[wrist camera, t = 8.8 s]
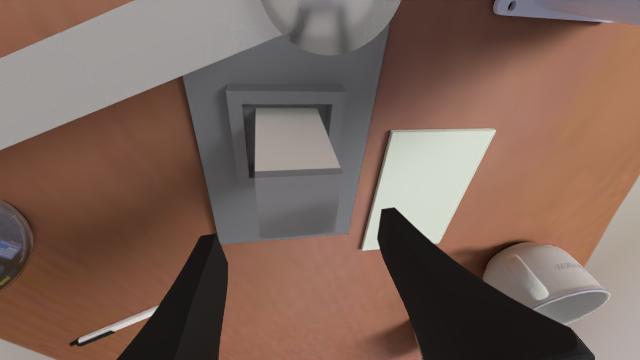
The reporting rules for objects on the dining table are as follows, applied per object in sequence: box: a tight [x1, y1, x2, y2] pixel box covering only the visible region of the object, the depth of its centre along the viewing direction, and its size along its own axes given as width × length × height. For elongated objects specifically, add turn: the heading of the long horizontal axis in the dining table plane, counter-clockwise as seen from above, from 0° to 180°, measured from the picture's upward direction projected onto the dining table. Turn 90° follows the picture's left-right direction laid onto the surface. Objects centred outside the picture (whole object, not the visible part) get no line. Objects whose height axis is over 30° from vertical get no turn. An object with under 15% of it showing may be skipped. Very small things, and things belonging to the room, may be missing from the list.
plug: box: [255, 108, 343, 239], centre depth 17 cm, size 4×4×8 cm
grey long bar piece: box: [0, 0, 401, 150], centre depth 9 cm, size 3×20×8 cm, turn 108°
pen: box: [70, 304, 160, 346], centre depth 30 cm, size 1×19×1 cm, turn 112°
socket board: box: [183, 20, 391, 245], centre depth 16 cm, size 12×22×11 cm, turn 176°
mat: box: [361, 128, 496, 251], centre depth 26 cm, size 9×14×1 cm, turn 176°
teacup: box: [483, 242, 610, 325], centre depth 33 cm, size 14×11×8 cm
